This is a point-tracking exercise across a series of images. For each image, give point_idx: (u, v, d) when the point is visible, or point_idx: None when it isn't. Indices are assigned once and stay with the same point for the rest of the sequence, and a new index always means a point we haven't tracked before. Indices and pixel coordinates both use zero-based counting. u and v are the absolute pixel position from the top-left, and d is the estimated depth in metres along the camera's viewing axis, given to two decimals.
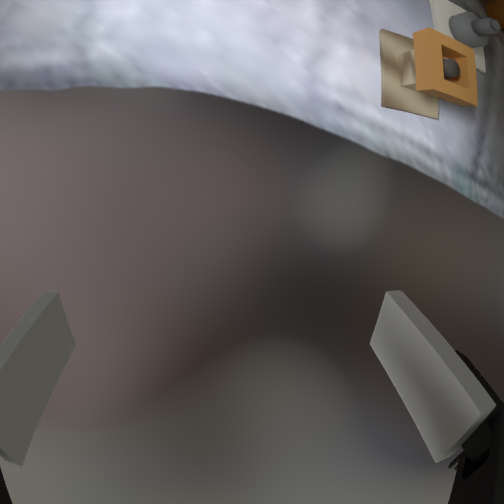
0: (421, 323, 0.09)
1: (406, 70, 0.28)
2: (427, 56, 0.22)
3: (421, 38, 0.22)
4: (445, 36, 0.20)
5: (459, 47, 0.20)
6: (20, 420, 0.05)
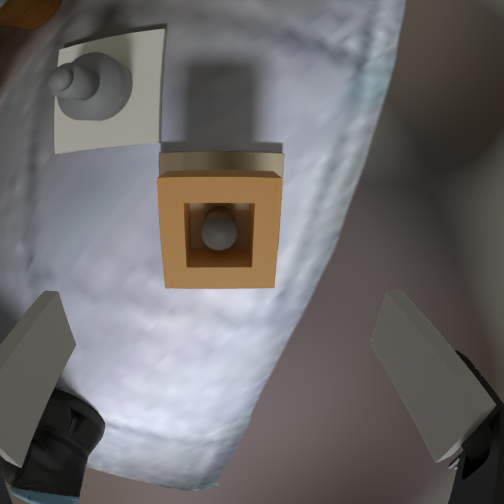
0: (421, 323, 0.09)
1: None
2: None
3: None
4: (165, 255, 0.20)
5: (173, 222, 0.19)
6: (20, 420, 0.05)
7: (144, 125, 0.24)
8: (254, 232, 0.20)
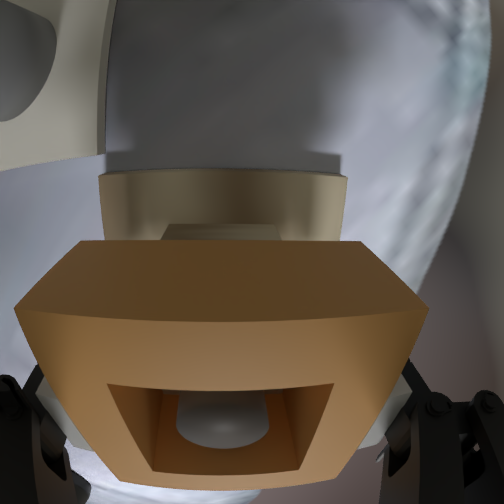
0: None
1: None
2: None
3: None
4: (100, 452, 0.06)
5: (95, 414, 0.05)
6: None
7: (71, 122, 0.11)
8: (317, 431, 0.06)
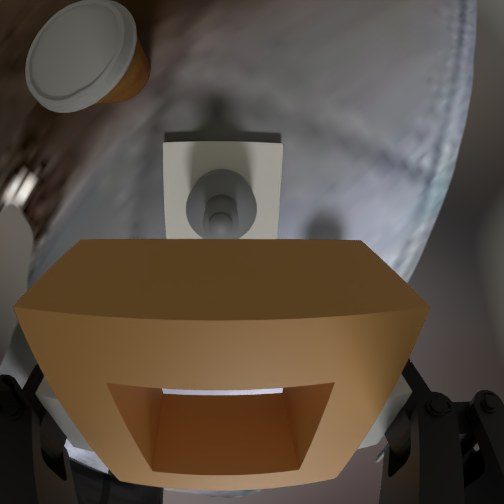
0: None
1: None
2: None
3: None
4: (100, 452, 0.06)
5: (94, 414, 0.05)
6: None
7: (263, 238, 0.32)
8: (317, 430, 0.06)
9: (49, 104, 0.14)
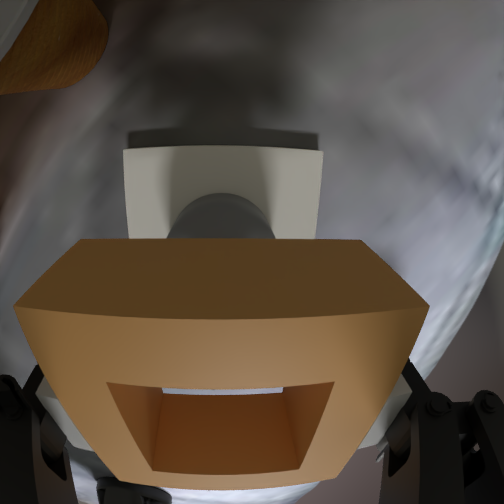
0: None
1: None
2: None
3: None
4: (100, 451, 0.06)
5: (94, 413, 0.05)
6: None
7: None
8: (317, 430, 0.06)
9: None
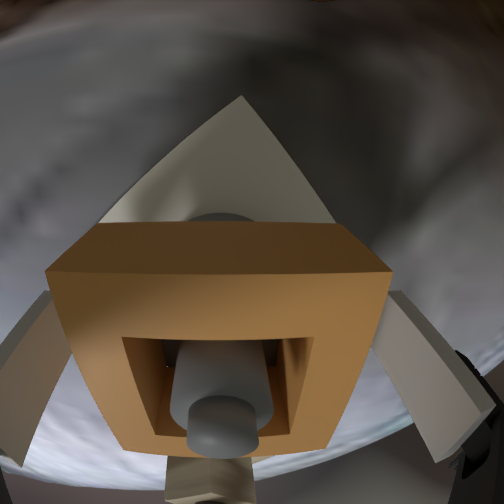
0: (421, 323, 0.09)
1: None
2: None
3: None
4: (108, 415, 0.07)
5: (107, 371, 0.07)
6: (20, 420, 0.05)
7: None
8: (303, 388, 0.07)
9: None
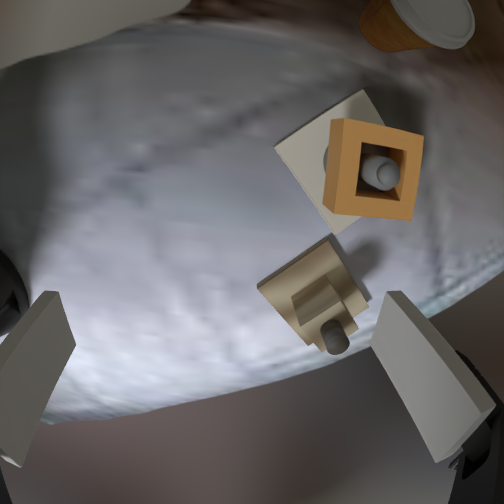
0: (421, 323, 0.09)
1: None
2: None
3: None
4: (340, 183, 0.22)
5: (351, 156, 0.21)
6: (20, 420, 0.05)
7: (341, 216, 0.31)
8: (405, 173, 0.22)
9: None
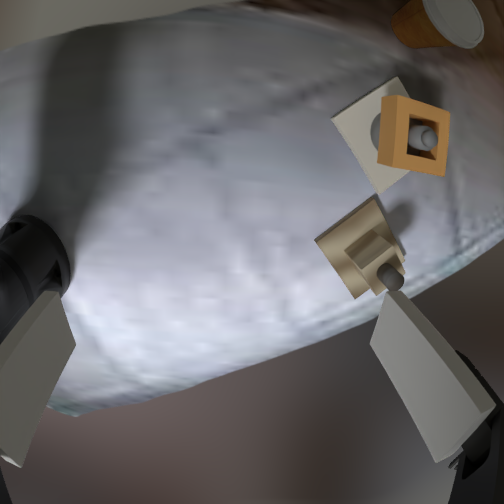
0: (421, 323, 0.09)
1: (357, 270, 0.38)
2: None
3: None
4: (396, 143, 0.26)
5: (403, 123, 0.25)
6: (20, 420, 0.05)
7: (384, 178, 0.35)
8: (438, 139, 0.26)
9: (437, 6, 0.16)
